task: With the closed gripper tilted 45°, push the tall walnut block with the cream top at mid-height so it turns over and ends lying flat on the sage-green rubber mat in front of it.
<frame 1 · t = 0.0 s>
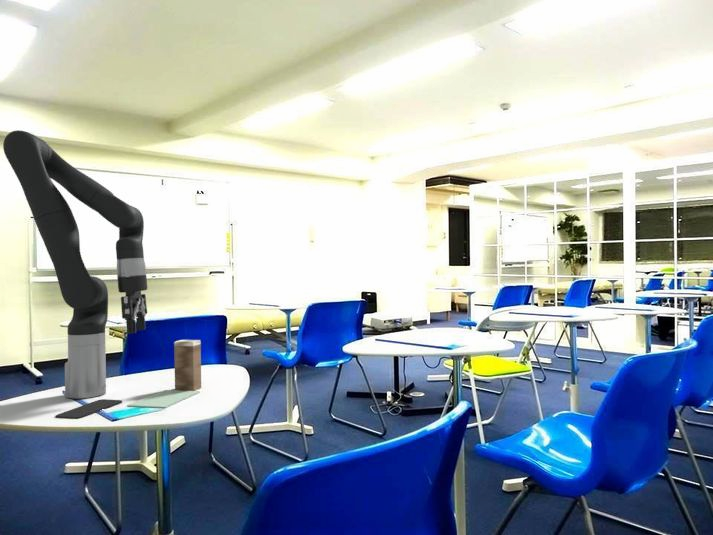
hand: (136, 331, 137), 17 cm above the table, tool pointing down, fingers open, 8 cm apart
phone: (90, 411, 120), on the table
green mat: (165, 398, 129), on the table
walnut block: (188, 389, 140), on the table
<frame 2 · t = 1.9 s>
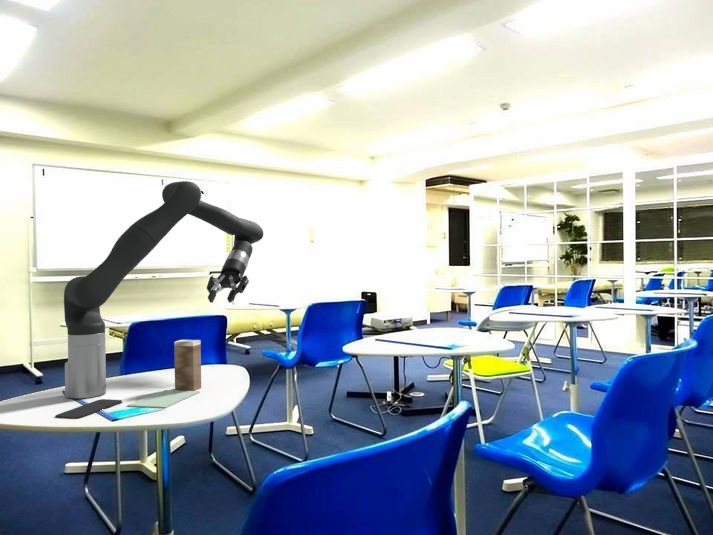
hand: (219, 300, 159), 24 cm above the table, tool tilted 45°, fingers open, 6 cm apart
nothing on the table moved.
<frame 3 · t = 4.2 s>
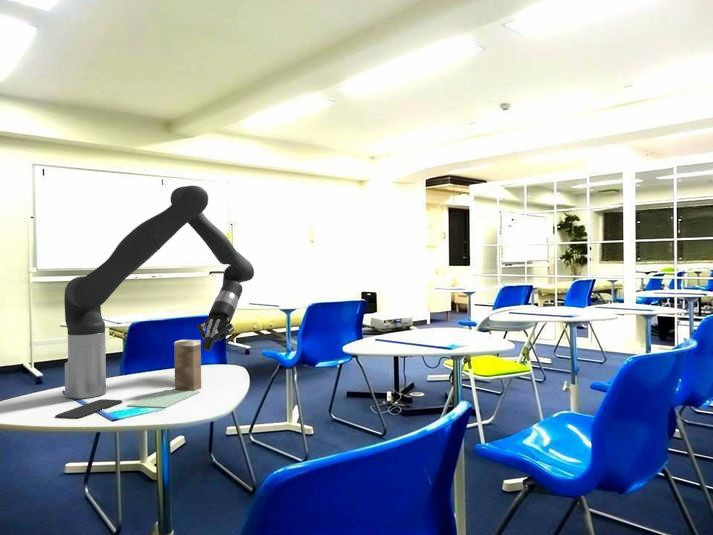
hand: (205, 349, 150), 10 cm above the table, tool tilted 45°, fingers closed
nothing on the table moved.
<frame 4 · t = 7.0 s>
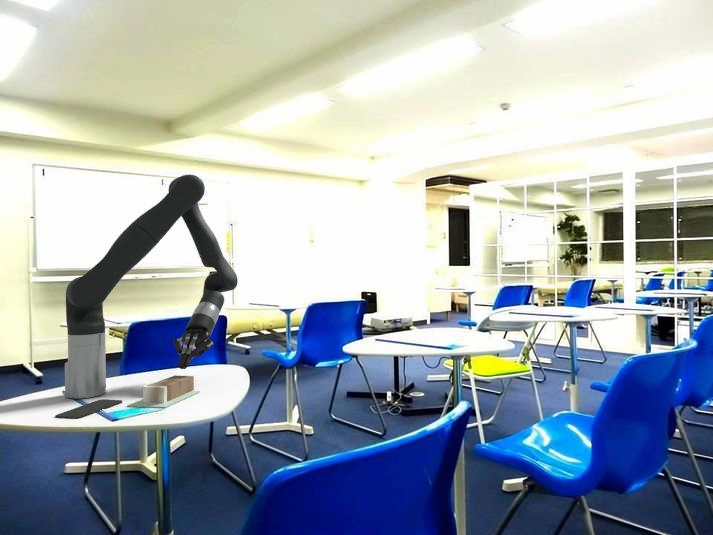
hand: (181, 367, 137), 7 cm above the table, tool tilted 45°, fingers closed
walnut block: (184, 382, 138), point 2 cm above the table, tilted 90°, touching green mat
everything else where it was.
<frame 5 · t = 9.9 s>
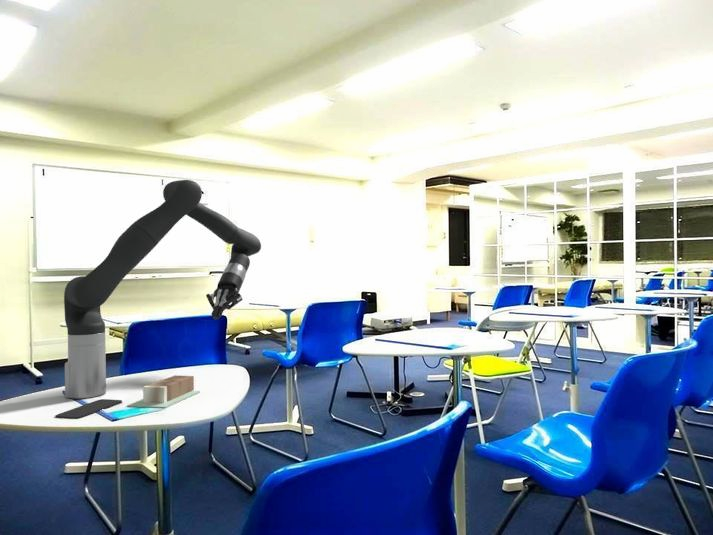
hand: (215, 317, 155), 19 cm above the table, tool tilted 45°, fingers closed
nothing on the table moved.
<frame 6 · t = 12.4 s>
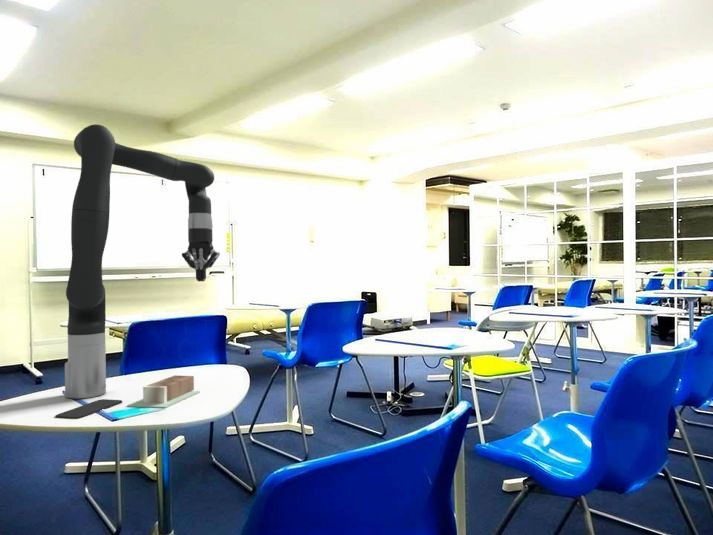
hand: (201, 281, 157), 31 cm above the table, tool pointing down, fingers closed
nothing on the table moved.
at the end: walnut block tilted 90°; walnut block touching green mat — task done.
